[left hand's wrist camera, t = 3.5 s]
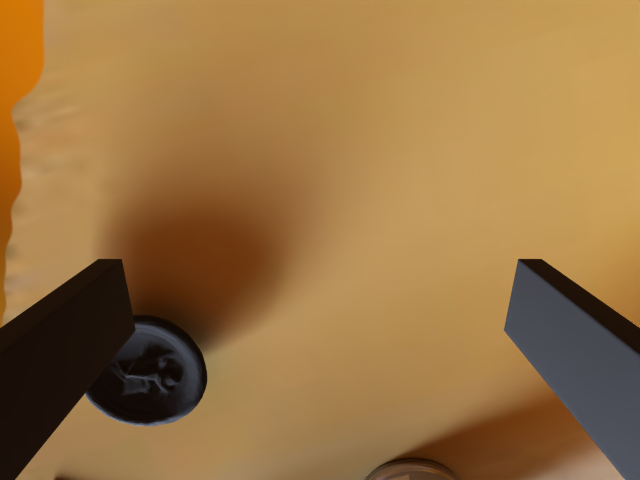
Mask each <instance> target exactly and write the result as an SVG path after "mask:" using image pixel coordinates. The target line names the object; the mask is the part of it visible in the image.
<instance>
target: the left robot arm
mask: <svg viewBox="0 0 640 480" xmlns="http://www.w3.org/2000/svg"><path fill="white" fill-rule="evenodd" d="M135 331H136V328H135V323H134V318H133V313H132V308H131V303H130V298H129V293H128V288H127V283H126V278H125V273H124V268H123V263H122V259H98V260H97V261H95V262H94V263H92V264H91V265H89V266H88V267H87V268H85V269H84V270H82V271H81V272H79V273H78V274H77V275H75V276H74V277H72V278H71V279H70V280H68V281H67V282H65V283H64V284H62V285H61V286H60V287H58V288H57V289H55V290H54V291H52V292H51V293H50V294H48V295H47V296H45V297H44V298H43V299H41V300H40V301H38V302H37V303H35V304H34V305H33V306H31V307H30V308H28V309H27V310H26V311H24V312H23V313H21V314H20V315H18V316H17V317H16V318H14V319H13V320H11V321H10V322H8V323H7V324H6V325H4V326H3V327H1V328H0V480H15V479H16V478H17V476H18V475H19V474H20V473H21V472H22V470H23V469H24V468H25V467H26V465H27V464H28V463H29V462H30V460H31V459H32V458H33V457H34V455H35V454H36V453H37V452H38V451H39V449H40V448H41V447H42V446H43V444H44V443H45V442H46V441H47V439H48V438H49V437H50V436H51V434H52V433H53V432H54V431H55V430H56V428H57V427H58V426H59V425H60V423H61V422H62V421H63V420H64V418H65V417H66V416H67V415H68V414H69V412H70V411H71V410H72V409H73V407H74V406H75V405H76V404H77V402H78V401H79V400H80V399H81V397H82V396H83V395H84V394H85V393H86V391H87V390H88V389H89V388H90V386H91V385H92V384H93V383H94V381H95V380H96V379H97V378H98V377H99V375H100V374H101V373H102V372H103V370H104V369H105V368H106V367H107V365H108V364H109V363H110V362H111V360H112V359H113V358H114V357H115V356H116V354H117V353H118V352H119V351H120V349H121V348H122V347H123V346H124V344H125V343H126V342H127V341H128V339H129V338H130V337H131V336H132V335H133V333H134V332H135ZM504 331H505V332H506V333H507V335H508V336H509V337H510V338H511V339H512V341H513V342H514V343H515V344H516V346H517V347H518V348H519V349H520V351H521V352H522V353H523V354H524V356H525V357H526V358H527V359H528V360H529V362H530V363H531V364H532V365H533V367H534V368H535V369H536V370H537V372H538V373H539V374H540V375H541V377H542V378H543V379H544V380H545V381H546V383H547V384H548V385H549V386H550V388H551V389H552V390H553V391H554V393H555V394H556V395H557V396H558V397H559V399H560V400H561V401H562V402H563V404H564V405H565V406H566V407H567V409H568V410H569V411H570V412H571V414H572V415H573V416H574V417H575V418H576V420H577V421H578V422H579V423H580V425H581V426H582V427H583V428H584V430H585V431H586V432H587V433H588V435H589V436H590V437H591V438H592V439H593V441H594V442H595V443H596V444H597V446H598V447H599V448H600V449H601V451H602V452H603V453H604V454H605V455H606V457H607V458H608V459H609V460H610V462H611V463H612V464H613V465H614V467H615V468H616V469H617V470H618V472H619V473H620V474H621V475H622V476H623V478H624V479H625V480H640V328H639V327H637V326H636V325H634V324H633V323H632V322H630V321H629V320H627V319H626V318H624V317H623V316H622V315H620V314H619V313H617V312H616V311H614V310H613V309H612V308H610V307H609V306H607V305H606V304H605V303H603V302H602V301H600V300H599V299H597V298H596V297H595V296H593V295H592V294H590V293H589V292H588V291H586V290H585V289H583V288H582V287H580V286H579V285H578V284H576V283H575V282H573V281H572V280H570V279H569V278H568V277H566V276H565V275H563V274H562V273H561V272H559V271H558V270H556V269H555V268H553V267H552V266H551V265H549V264H548V263H546V262H545V261H543V260H542V259H518V263H517V268H516V273H515V278H514V283H513V288H512V293H511V298H510V303H509V308H508V313H507V318H506V323H505V328H504ZM365 480H457V479H456V477H455V476H454V474H453V473H452V472H451V471H450V470H448V469H447V468H446V467H444V466H442V465H440V464H438V463H435V462H432V461H428V460H423V459H404V460H398V461H394V462H391V463H388V464H385V465H383V466H381V467H379V468H377V469H376V470H374V471H373V472H372V473H371V474H369V475H368V476H367V477H366V479H365Z"/></svg>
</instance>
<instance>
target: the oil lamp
mask: <svg viewBox="0 0 640 480" xmlns="http://www.w3.org/2000/svg"><path fill="white" fill-rule="evenodd" d="M133 318H134V323H135V328H136V331H135V332H134V333H133V335H132V336H131V337H130V338H129V339H128V341H127V342H126V343H125V344H124V346H123V347H122V348H121V349H120V351H119V352H118V353H117V354H116V356H115V357H114V358H113V359H112V360H111V362H110V363H109V364H108V365H107V367H106V368H105V369H104V370H103V372H102V373H101V374H100V375H99V377H98V378H97V379H96V380H95V381H94V383H93V384H92V385H91V386H90V388H89V389H88V390H87V391H86V393H85V395H86V397H87V398H88V400H89V401H90V403H92V404H93V405H94V406H95V407H96V408H97V409H98V410H99V411H101V412H102V413H103V414H105V415H106V416H108V417H110V418H112V419H114V420H117V421H119V422H123V423H127V424H131V425H136V426H156V425H162V424H168V423H172V422H175V421H177V420H178V419H180V418H182V417H184V416H186V415H188V414H189V413H190V412H191V411H192V410H193V409H194V408H195V407H196V406H197V405H198V403H199V401H200V400H201V398H202V396H203V393H204V391H205V389H206V385H207V370H206V365H205V362H204V358H203V355H202V352H201V351H200V349H199V348H198V346H197V345H196V343H195V342H194V341H193V340H192V338H191V337H190V336H189V335H188V334H187V333H186V332H185V331H183V330H182V329H181V328H180V327H178V326H177V325H175V324H174V323H172V322H170V321H168V320H166V319H163V318H159V317H156V316H151V315H133Z"/></svg>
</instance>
